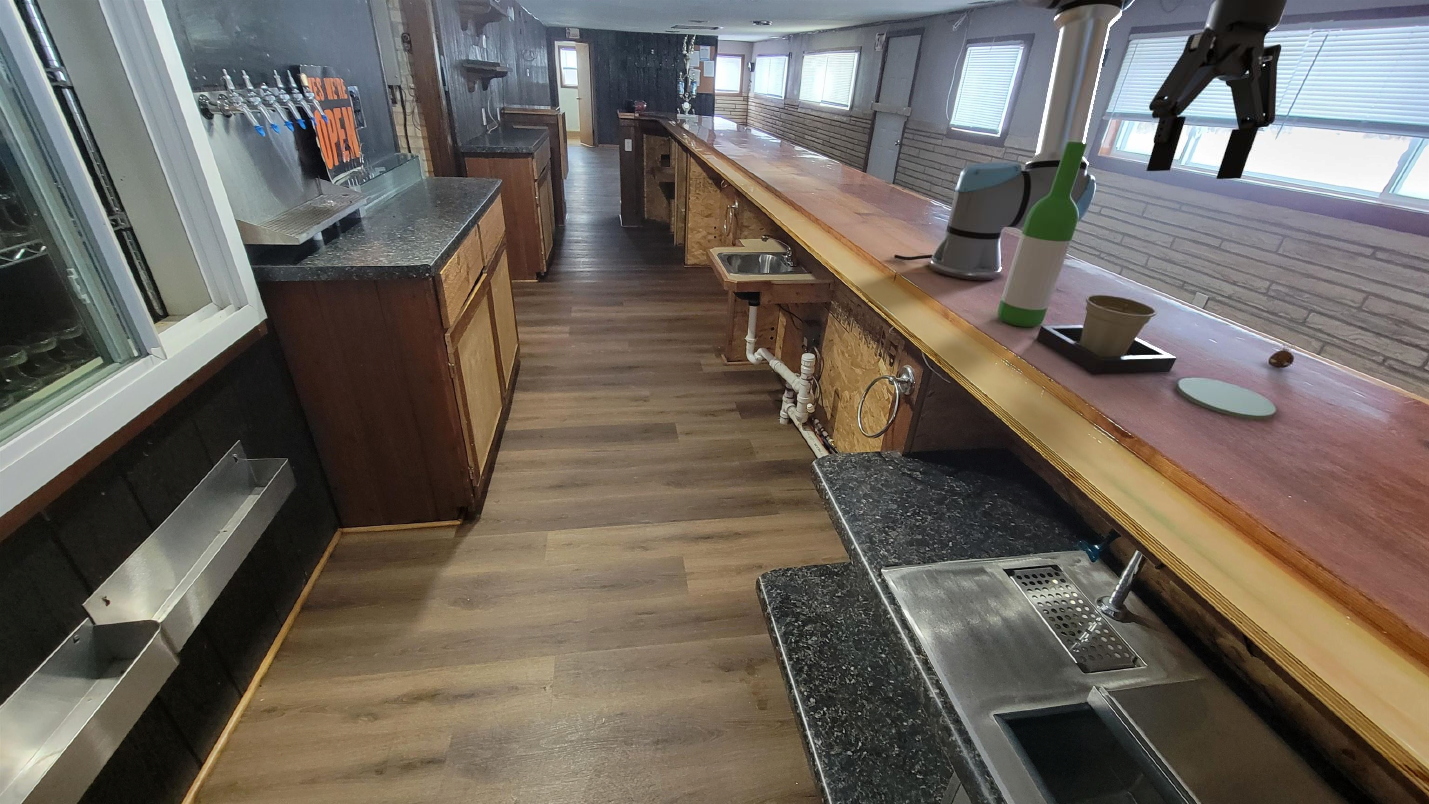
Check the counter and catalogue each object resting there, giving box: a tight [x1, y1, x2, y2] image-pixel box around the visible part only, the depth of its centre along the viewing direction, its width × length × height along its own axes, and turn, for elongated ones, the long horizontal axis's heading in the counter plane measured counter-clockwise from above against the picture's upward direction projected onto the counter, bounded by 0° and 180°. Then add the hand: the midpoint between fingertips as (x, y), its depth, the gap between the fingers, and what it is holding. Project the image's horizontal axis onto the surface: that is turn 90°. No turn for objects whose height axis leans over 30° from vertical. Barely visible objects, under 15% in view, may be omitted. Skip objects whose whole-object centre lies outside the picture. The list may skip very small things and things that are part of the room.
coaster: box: [1175, 377, 1277, 420], centre depth 79 cm, size 11×11×1 cm
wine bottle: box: [997, 142, 1088, 328], centre depth 96 cm, size 8×8×30 cm
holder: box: [1035, 324, 1177, 376], centre depth 91 cm, size 13×13×2 cm
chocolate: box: [1267, 343, 1297, 369], centre depth 89 cm, size 3×2×4 cm
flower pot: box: [1078, 294, 1158, 357], centre depth 89 cm, size 9×9×9 cm
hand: (1193, 175), depth 79 cm, fingers open, 13 cm apart
